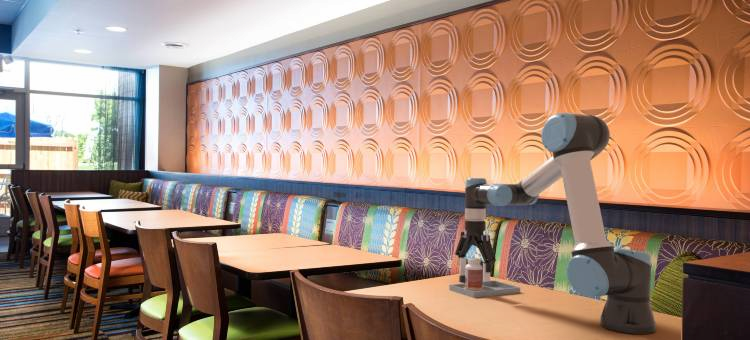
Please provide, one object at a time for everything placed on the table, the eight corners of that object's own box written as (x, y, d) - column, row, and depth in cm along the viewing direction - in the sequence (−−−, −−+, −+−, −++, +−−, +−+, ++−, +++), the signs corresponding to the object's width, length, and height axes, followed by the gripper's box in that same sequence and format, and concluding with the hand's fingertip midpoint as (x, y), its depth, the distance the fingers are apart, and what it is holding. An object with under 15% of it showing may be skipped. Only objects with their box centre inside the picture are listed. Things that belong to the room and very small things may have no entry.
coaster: (488, 293, 214) (488, 290, 214) (471, 295, 210) (471, 292, 210) (474, 289, 220) (474, 286, 220) (458, 291, 217) (458, 287, 217)
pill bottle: (485, 289, 215) (486, 259, 215) (473, 291, 211) (474, 260, 211) (473, 286, 220) (474, 257, 220) (461, 288, 216) (462, 258, 216)
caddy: (520, 294, 217) (520, 287, 217) (473, 299, 206) (473, 292, 206) (494, 286, 229) (494, 280, 229) (449, 291, 218) (449, 284, 218)
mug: (468, 279, 244) (468, 257, 244) (487, 284, 234) (488, 261, 234) (450, 280, 239) (450, 258, 239) (469, 286, 229) (470, 263, 229)
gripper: (506, 222, 206) (505, 283, 206) (462, 217, 228) (461, 272, 227) (489, 223, 202) (488, 284, 202) (446, 217, 224) (445, 273, 224)
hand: (474, 278), depth 215 cm, fingers open, 13 cm apart
